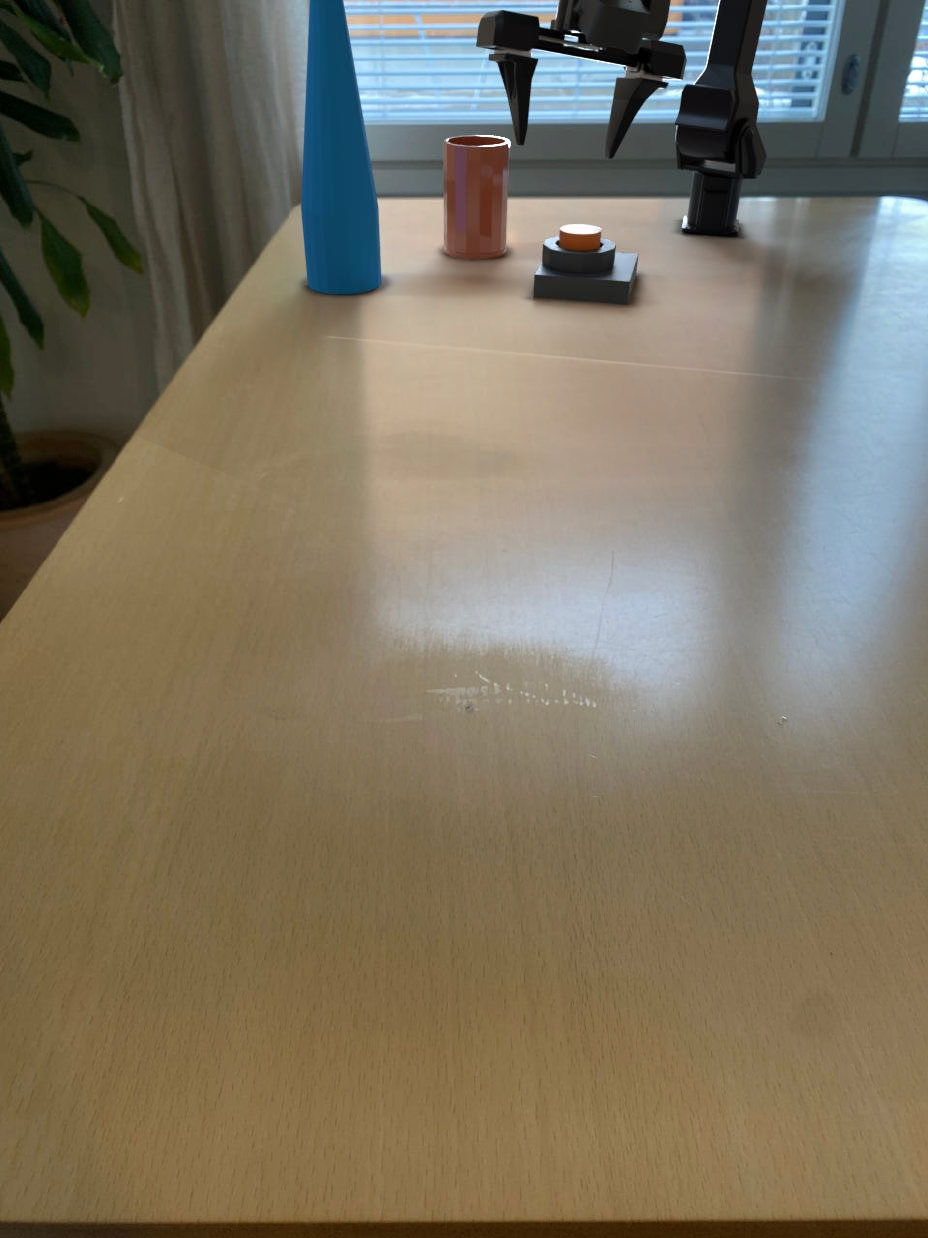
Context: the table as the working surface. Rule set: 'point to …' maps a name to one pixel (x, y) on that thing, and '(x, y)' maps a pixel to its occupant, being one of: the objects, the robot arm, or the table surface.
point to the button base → (585, 273)
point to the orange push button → (580, 237)
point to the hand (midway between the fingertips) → (565, 151)
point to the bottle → (336, 164)
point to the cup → (475, 196)
